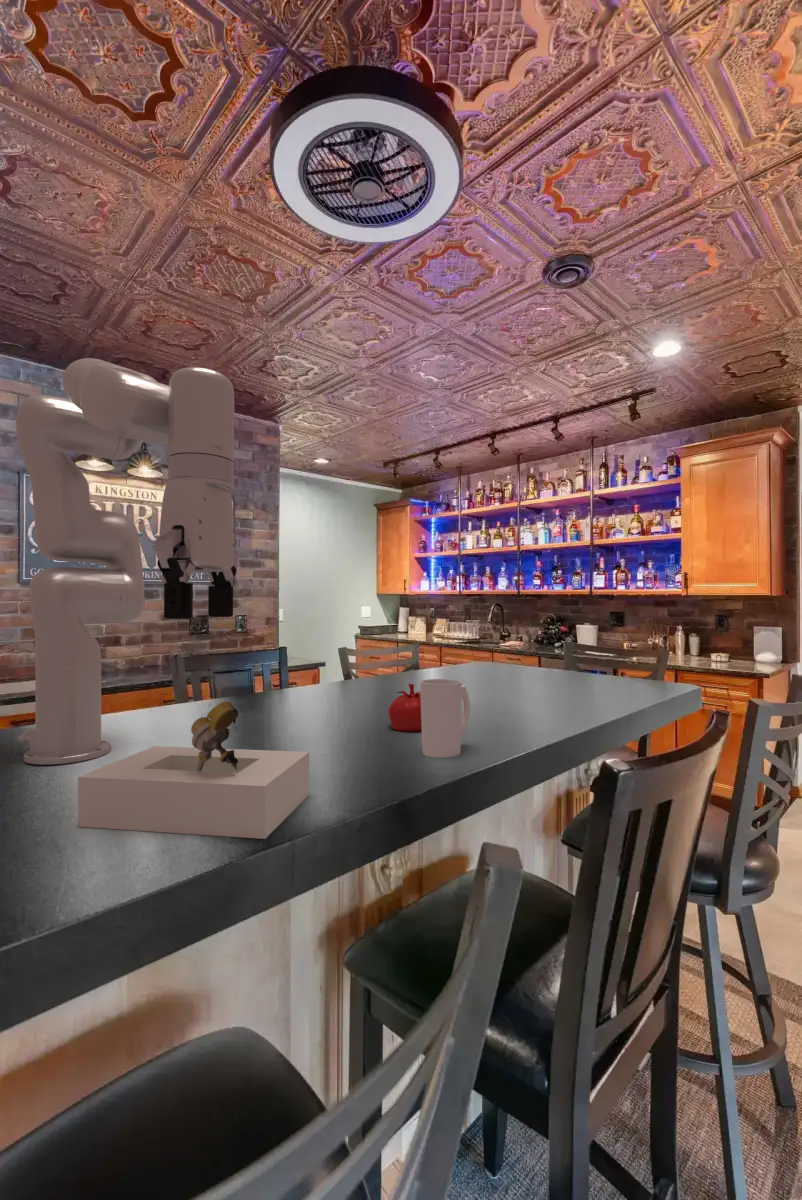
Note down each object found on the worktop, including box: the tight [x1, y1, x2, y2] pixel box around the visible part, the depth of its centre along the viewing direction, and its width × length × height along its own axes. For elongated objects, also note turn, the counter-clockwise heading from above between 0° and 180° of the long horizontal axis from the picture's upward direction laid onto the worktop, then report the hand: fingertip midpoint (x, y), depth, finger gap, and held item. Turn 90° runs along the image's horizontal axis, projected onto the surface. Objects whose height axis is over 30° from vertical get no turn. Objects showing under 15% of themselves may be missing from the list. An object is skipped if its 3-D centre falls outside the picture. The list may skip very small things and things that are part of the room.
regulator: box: [190, 701, 239, 771], centre depth 64 cm, size 8×4×15 cm
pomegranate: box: [387, 683, 422, 733], centre depth 109 cm, size 10×10×9 cm
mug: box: [419, 678, 471, 759], centre depth 92 cm, size 10×7×12 cm, turn 129°
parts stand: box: [77, 745, 310, 840], centre depth 67 cm, size 22×14×6 cm, turn 80°
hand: (200, 617), depth 67 cm, fingers open, 9 cm apart
